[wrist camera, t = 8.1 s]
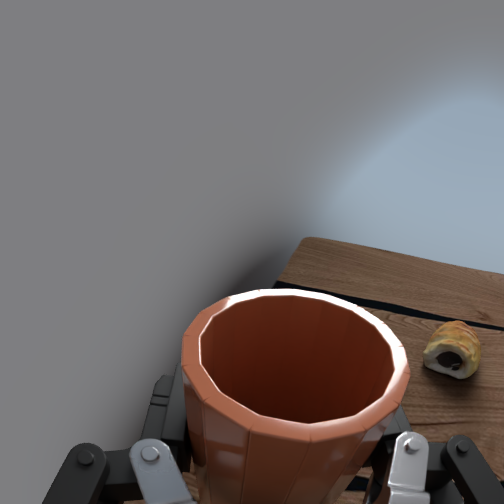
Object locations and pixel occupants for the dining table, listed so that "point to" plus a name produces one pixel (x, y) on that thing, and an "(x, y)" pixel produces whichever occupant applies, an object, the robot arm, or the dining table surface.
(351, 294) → the dining table surface
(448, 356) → the pastry
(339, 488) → the canister
